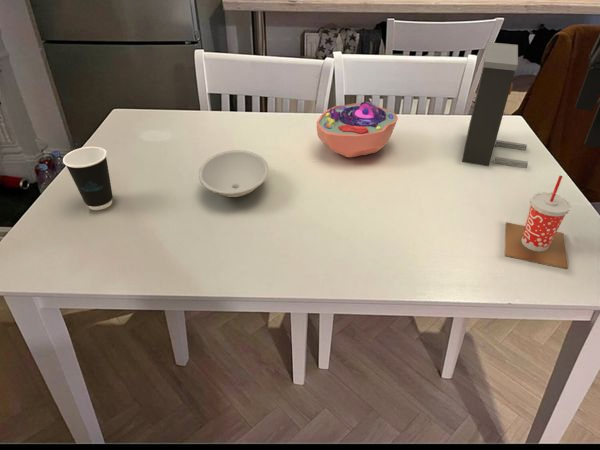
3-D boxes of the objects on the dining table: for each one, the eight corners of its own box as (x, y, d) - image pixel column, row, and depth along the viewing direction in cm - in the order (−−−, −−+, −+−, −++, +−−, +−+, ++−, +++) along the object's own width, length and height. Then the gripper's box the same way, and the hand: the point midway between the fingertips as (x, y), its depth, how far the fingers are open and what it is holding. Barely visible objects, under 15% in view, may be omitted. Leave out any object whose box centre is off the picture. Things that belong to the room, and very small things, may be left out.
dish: (271, 212, 92) (269, 191, 89) (198, 216, 91) (194, 195, 88) (268, 168, 106) (267, 148, 103) (205, 170, 105) (202, 151, 102)
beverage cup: (512, 232, 86) (534, 166, 77) (545, 233, 86) (572, 167, 77) (523, 254, 81) (548, 186, 73) (559, 254, 81) (588, 186, 72)
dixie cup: (93, 219, 91) (76, 170, 84) (72, 205, 95) (54, 157, 88) (128, 201, 95) (114, 154, 89) (106, 188, 100) (92, 142, 93)
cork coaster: (563, 234, 86) (563, 233, 86) (567, 269, 78) (568, 267, 78) (505, 223, 89) (506, 222, 88) (504, 256, 81) (505, 254, 81)
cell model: (301, 147, 114) (300, 103, 107) (364, 127, 123) (368, 86, 116) (342, 177, 103) (344, 130, 96) (409, 153, 111) (415, 108, 104)
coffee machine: (525, 144, 115) (556, 48, 101) (526, 172, 104) (560, 69, 90) (465, 136, 119) (487, 42, 105) (460, 162, 108) (484, 61, 94)
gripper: (601, -44, 69) (556, 94, 82) (634, -12, 51) (569, 160, 63) (659, -42, 67) (604, 99, 80) (716, -9, 48) (632, 168, 61)
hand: (588, 126), depth 72 cm, fingers open, 13 cm apart
